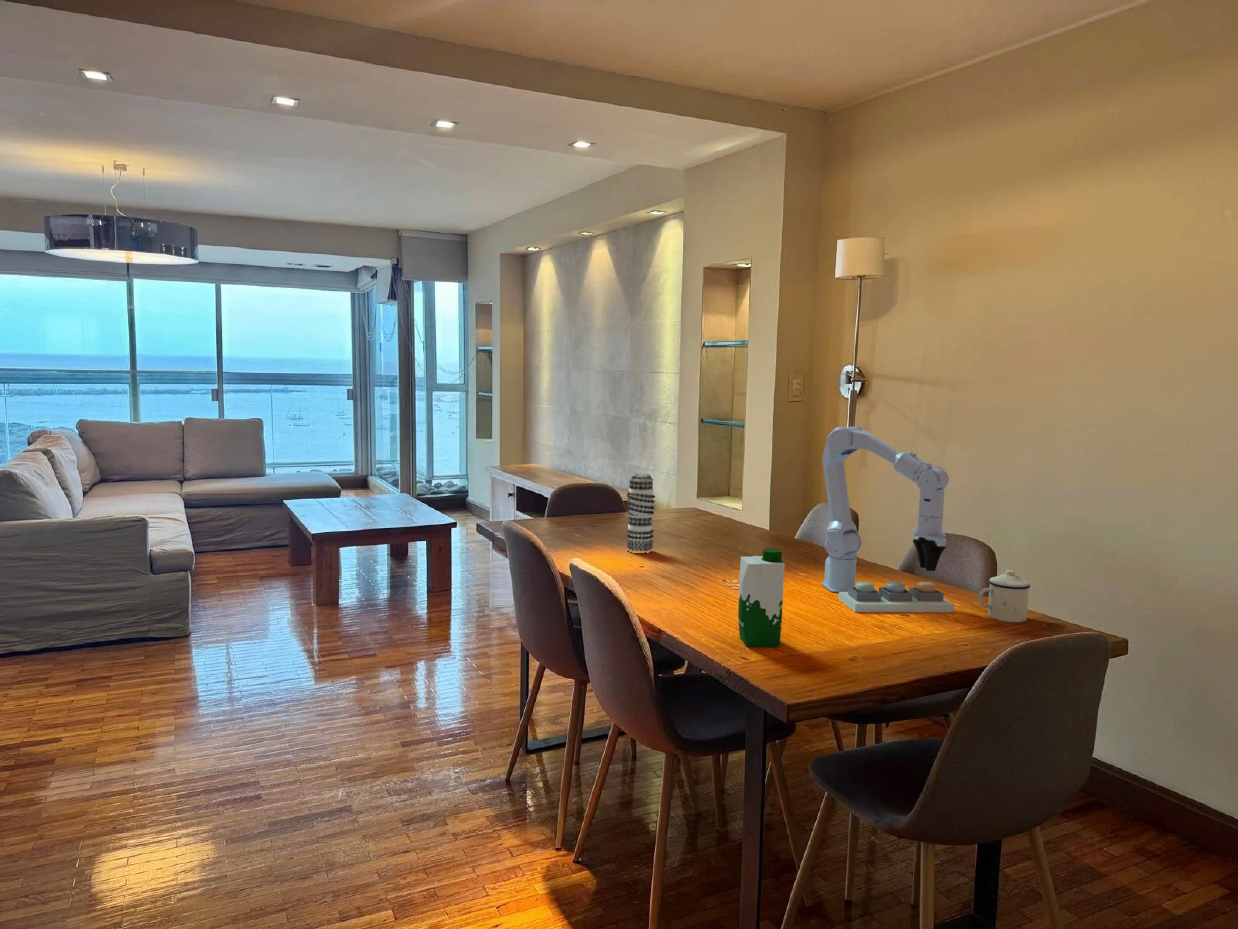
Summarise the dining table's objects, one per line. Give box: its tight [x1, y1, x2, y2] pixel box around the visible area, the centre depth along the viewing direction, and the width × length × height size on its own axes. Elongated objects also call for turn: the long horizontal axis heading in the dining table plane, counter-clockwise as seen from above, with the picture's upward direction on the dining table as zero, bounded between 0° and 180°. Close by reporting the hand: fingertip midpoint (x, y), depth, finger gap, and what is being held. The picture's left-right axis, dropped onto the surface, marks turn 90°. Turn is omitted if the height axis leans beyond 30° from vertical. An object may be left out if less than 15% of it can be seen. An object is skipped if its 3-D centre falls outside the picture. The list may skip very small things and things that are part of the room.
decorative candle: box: [626, 473, 656, 551], centre depth 275 cm, size 9×9×25 cm
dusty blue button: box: [886, 581, 906, 593], centre depth 215 cm, size 4×4×2 cm
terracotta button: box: [916, 581, 937, 593], centre depth 216 cm, size 4×4×2 cm
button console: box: [838, 586, 955, 613], centre depth 215 cm, size 12×25×4 cm, turn 95°
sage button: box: [855, 581, 875, 593], centre depth 214 cm, size 4×4×2 cm
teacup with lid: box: [977, 569, 1031, 624], centre depth 206 cm, size 12×9×12 cm
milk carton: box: [737, 548, 786, 648], centre depth 182 cm, size 9×9×20 cm
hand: (927, 569), depth 215 cm, fingers open, 3 cm apart
